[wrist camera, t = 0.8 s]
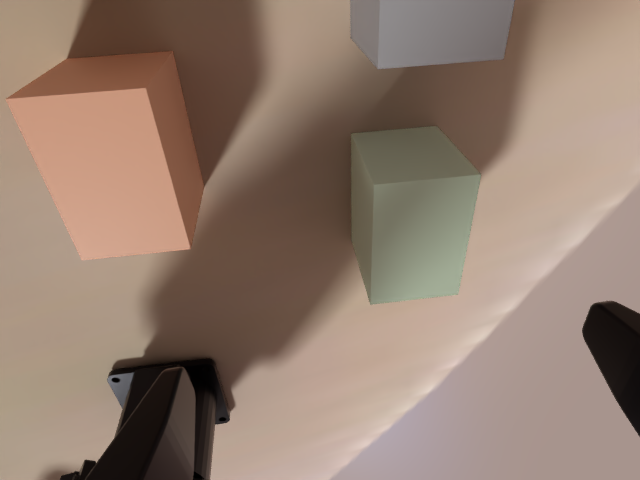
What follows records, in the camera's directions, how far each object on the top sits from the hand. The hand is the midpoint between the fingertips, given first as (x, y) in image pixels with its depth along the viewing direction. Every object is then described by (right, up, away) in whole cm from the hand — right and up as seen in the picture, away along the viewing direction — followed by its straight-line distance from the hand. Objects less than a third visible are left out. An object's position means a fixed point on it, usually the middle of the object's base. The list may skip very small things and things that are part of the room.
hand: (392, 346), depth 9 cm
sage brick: (+2, +5, +12) cm, 13 cm away
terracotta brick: (-9, +7, +9) cm, 15 cm away
